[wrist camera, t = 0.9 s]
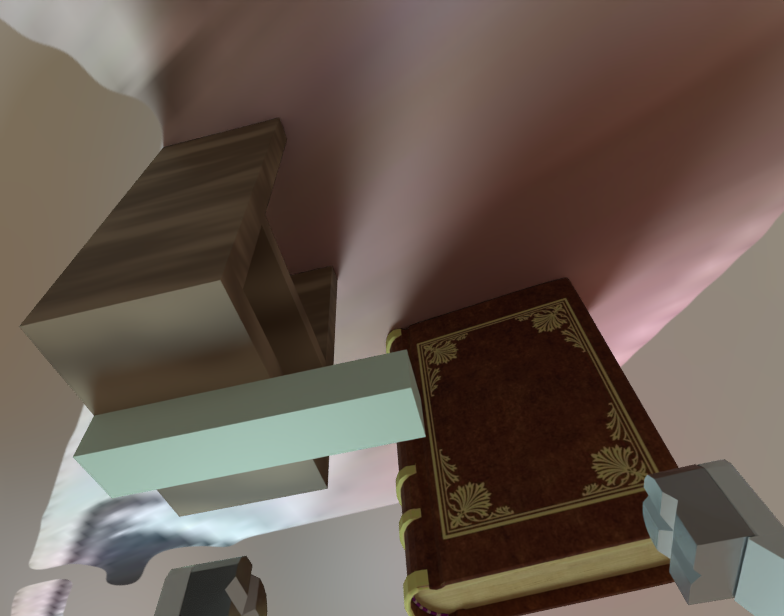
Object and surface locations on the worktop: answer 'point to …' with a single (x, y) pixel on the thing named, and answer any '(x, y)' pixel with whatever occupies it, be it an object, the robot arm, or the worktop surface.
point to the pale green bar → (254, 425)
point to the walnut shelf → (192, 301)
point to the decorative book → (523, 462)
